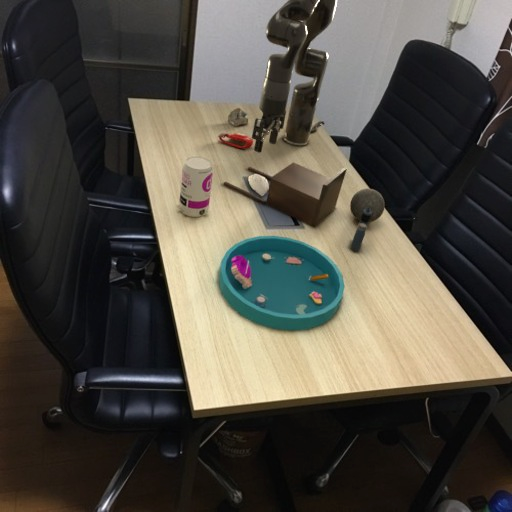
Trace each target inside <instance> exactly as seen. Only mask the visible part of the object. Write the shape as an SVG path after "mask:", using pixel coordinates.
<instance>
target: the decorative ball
mask: <svg viewBox="0 0 512 512" xmlns="http://www.w3.org/2000/svg"><path fill="white" fill-rule="evenodd" d="M349 208H350V212H351V214H352V216H353V217H354V218H355V219H356V220H358V221H359V222H360V219H361V217H362V213H363V210H364V209H367V208H370V209H371V210H370V211H371V212H372V214H371V217H370V220H369V222H368V223H372V222H375V221H377V220H378V219H380V218H381V216H382V215H383V213H384V211H385V199H384V197H383V196H382V193H380V192H379V191H378V190H375V189H373V188H363V189H359V190H358V191H356V192H355V193H354V195H352V197H351V200H350V205H349Z"/></svg>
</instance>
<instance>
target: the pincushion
mask: <svg viewBox="0 0 512 512" xmlns="http://www.w3.org/2000/svg"><path fill="white" fill-rule="evenodd" d="M257 170H258V171H260V170H259V169H257ZM253 172H254V171H253ZM253 172H252V173H253ZM262 172H263V173H265V171H262ZM267 175H268V174H267ZM267 175H266V176H267ZM247 181H248V183H249V186H250V187H251V189H252V190H253V191H255V193H257V194H258V195H259V196H261V197H264V195H265V194H266V193H268V191H269V186H270V183H269V180H268V179H266V178H265V177H262V176H260V175H258V174H255V173H253V174H251V175H249V176H248V180H247Z"/></svg>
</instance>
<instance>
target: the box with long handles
mask: <svg viewBox="0 0 512 512" xmlns="http://www.w3.org/2000/svg"><path fill="white" fill-rule="evenodd" d="M258 170H259V169H256V168H253V167H252V166H248V167H247V171H248V172H250V173H252V174H258V175H260V176H262V177H265V178H266V179H267V181H269V189H268V191H267V196H266V200H265V199H264V198H262V197H259V196H258V195H255V194H253V193H252V192H249V191H247V190H244V189H243V188H240V187H238V186H236V185H234V184H232V183H230V182H227V181H224V182H223V186H224V187H226V188H228V189H230V190H232V191H234V192H236V193H239V194H241V195H243V196H245V197H248V198H250V199H251V200H253V201H256V202H258V203H259V204H262V205H267V206H268V207H271V208H272V209H275V210H277V211H279V212H281V213H282V214H286V215H287V216H289V217H292V218H293V219H296V220H298V221H300V222H302V223H304V224H307V225H309V226H311V227H313V228H317V226H318V225H319V224H320V223H321V222H322V221H323V220H325V219H326V218H327V217H328V216H329V215H330V214H331V213H332V212H333V211H334V210H335V209H336V206H337V202H338V199H339V197H340V193H341V190H342V186H343V183H344V179H345V176H346V173H347V167H342V168H341V169H340V170H339V171H338V172H336V173H334V175H333V176H331V177H329V176H326V175H324V174H321V173H319V172H317V171H314V170H312V169H310V168H308V167H305V166H303V165H301V164H298V163H296V162H292V163H290V164H288V165H287V166H286V167H284V168H283V169H281V170H280V171H278V172H277V173H275V174H274V175H272V176H271V175H269V174H268V173H265V172H264V171H261V170H259V171H258ZM253 171H254V172H253ZM263 172H264V173H263ZM266 175H267V176H266Z"/></svg>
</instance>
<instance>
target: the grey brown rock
mask: <svg viewBox="0 0 512 512" xmlns="http://www.w3.org/2000/svg"><path fill="white" fill-rule="evenodd" d="M248 114H249V113H247V112H245V110H242V108H240V107H237V108H235V109H233V110H232V111H230V113H229V114H228V116H227V122H229V123H230V124H231V125H232V126H234V127H239V126H241V125H248V124H249V118H248V117H246V116H247V115H248Z"/></svg>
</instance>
